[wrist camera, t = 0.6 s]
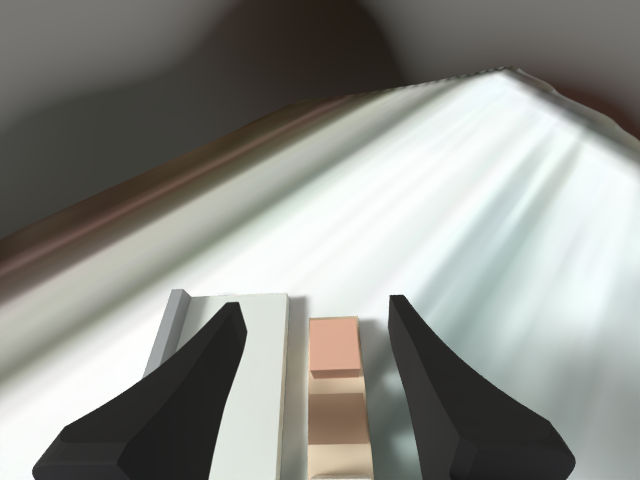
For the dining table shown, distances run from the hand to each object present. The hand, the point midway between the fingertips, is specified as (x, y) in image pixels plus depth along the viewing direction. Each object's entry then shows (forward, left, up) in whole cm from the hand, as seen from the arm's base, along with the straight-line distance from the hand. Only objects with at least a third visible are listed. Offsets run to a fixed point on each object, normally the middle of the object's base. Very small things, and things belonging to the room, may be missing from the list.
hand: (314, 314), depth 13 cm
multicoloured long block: (-4, -1, -17) cm, 18 cm away
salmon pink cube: (+2, -1, -15) cm, 15 cm away
